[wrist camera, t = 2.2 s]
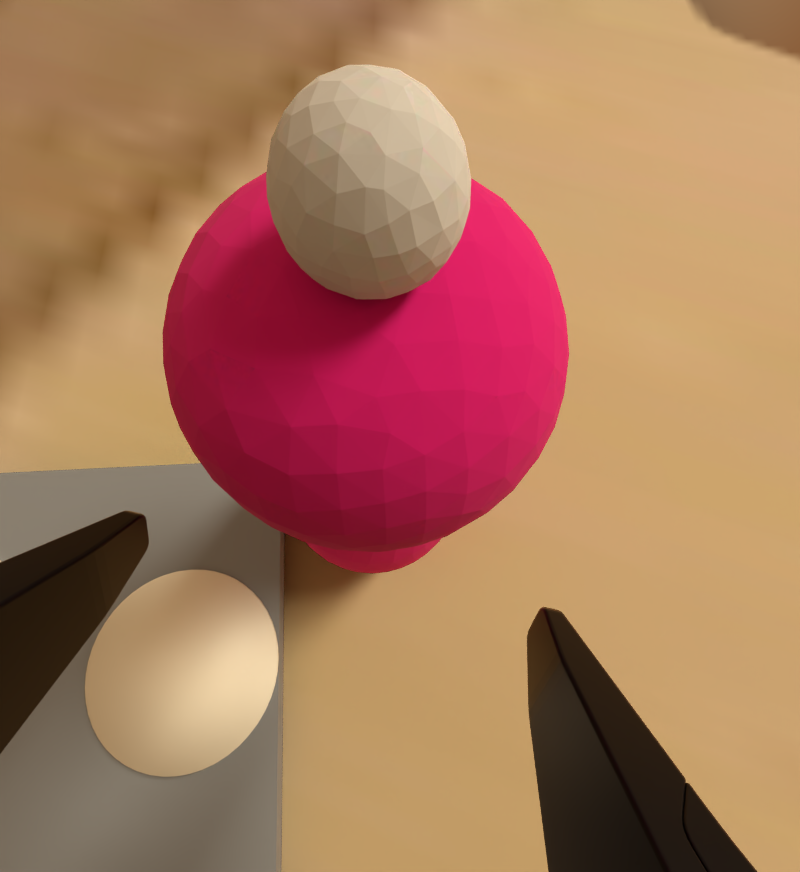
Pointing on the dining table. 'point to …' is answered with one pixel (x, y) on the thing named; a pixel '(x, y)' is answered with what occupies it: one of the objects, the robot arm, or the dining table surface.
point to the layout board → (154, 687)
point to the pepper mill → (366, 330)
